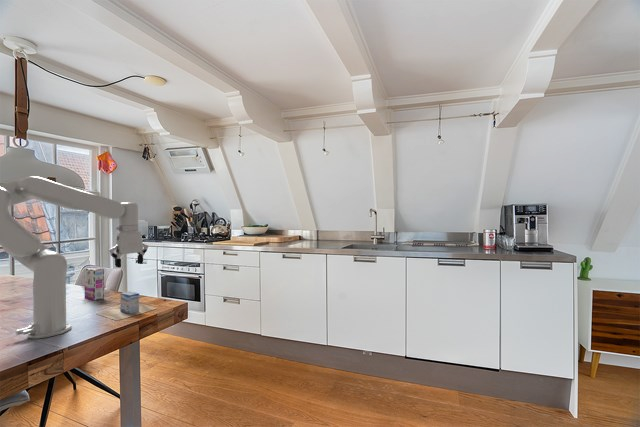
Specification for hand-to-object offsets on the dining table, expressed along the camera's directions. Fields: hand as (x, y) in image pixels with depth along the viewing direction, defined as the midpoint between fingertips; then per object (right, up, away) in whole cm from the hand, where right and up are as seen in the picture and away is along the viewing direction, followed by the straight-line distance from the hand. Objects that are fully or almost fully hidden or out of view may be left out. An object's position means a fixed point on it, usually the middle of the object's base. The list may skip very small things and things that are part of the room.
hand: (129, 265), depth 139 cm
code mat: (-2, -22, +1) cm, 22 cm away
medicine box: (0, -22, 0) cm, 22 cm away
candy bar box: (-34, -22, +23) cm, 47 cm away
